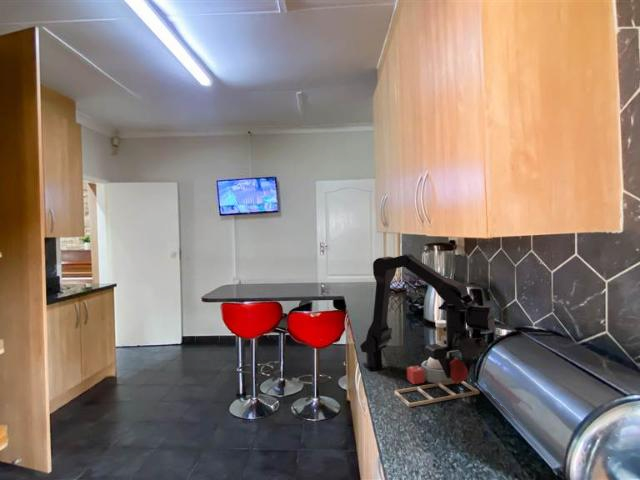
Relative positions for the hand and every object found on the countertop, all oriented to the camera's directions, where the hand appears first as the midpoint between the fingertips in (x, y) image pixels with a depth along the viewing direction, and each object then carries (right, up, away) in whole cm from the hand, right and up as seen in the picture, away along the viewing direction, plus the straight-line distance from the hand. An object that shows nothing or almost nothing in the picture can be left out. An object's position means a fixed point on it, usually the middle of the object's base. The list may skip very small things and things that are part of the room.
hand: (457, 376), depth 110 cm
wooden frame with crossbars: (-7, -4, -2) cm, 8 cm away
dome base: (-5, -4, +9) cm, 11 cm away
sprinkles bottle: (+5, -3, +28) cm, 28 cm away
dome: (-3, -2, +9) cm, 10 cm away
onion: (0, -2, 0) cm, 2 cm away
